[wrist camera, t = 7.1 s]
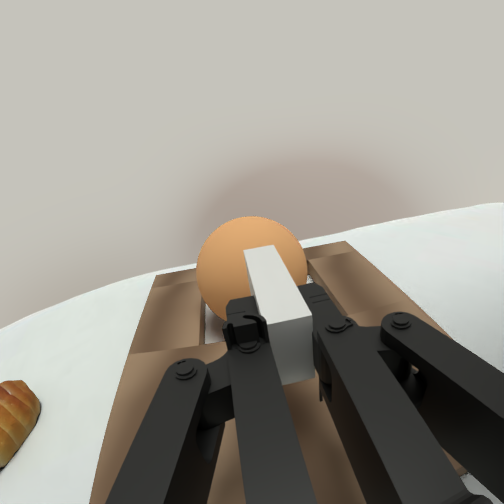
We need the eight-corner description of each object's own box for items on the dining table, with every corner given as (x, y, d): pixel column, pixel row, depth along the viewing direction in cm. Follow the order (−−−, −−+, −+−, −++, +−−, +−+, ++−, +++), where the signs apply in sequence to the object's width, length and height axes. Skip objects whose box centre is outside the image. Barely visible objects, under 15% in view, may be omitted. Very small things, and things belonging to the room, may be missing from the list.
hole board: (345, 253, 33) (345, 240, 32) (516, 438, 9) (527, 420, 8) (159, 288, 32) (156, 275, 31) (101, 541, 8) (84, 531, 7)
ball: (328, 240, 18) (321, 334, 22) (285, 192, 25) (288, 273, 29) (190, 268, 17) (214, 360, 21) (183, 209, 23) (201, 291, 28)
